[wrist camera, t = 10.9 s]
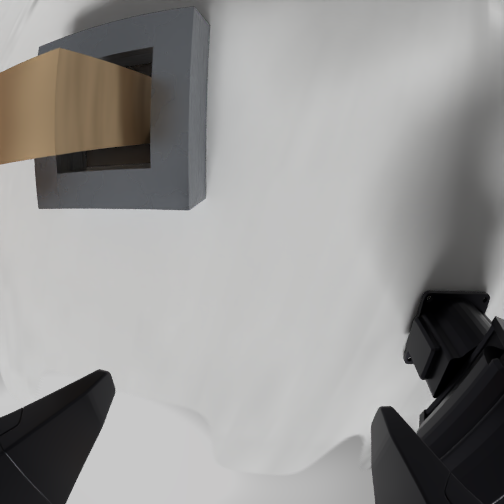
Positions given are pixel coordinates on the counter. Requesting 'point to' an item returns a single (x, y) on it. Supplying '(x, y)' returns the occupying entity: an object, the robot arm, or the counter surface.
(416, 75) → the counter surface
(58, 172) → the block
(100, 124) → the oak peg
